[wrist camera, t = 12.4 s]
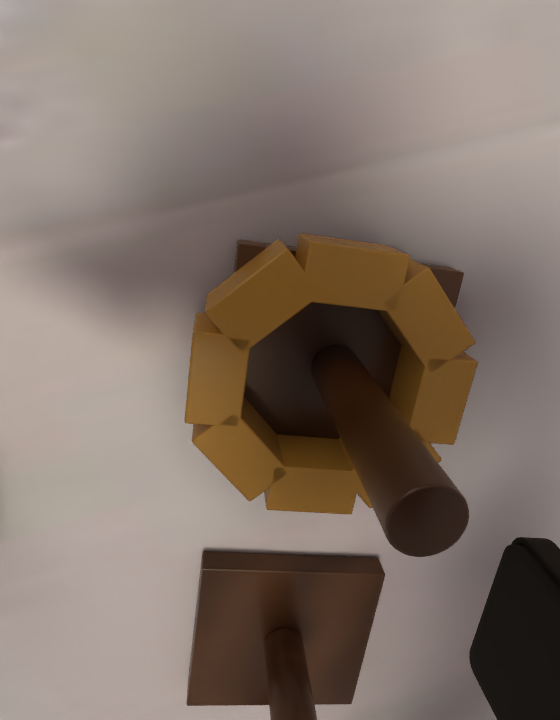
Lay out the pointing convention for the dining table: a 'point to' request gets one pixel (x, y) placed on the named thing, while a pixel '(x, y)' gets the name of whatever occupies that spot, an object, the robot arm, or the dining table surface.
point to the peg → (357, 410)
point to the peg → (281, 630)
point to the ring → (277, 305)
